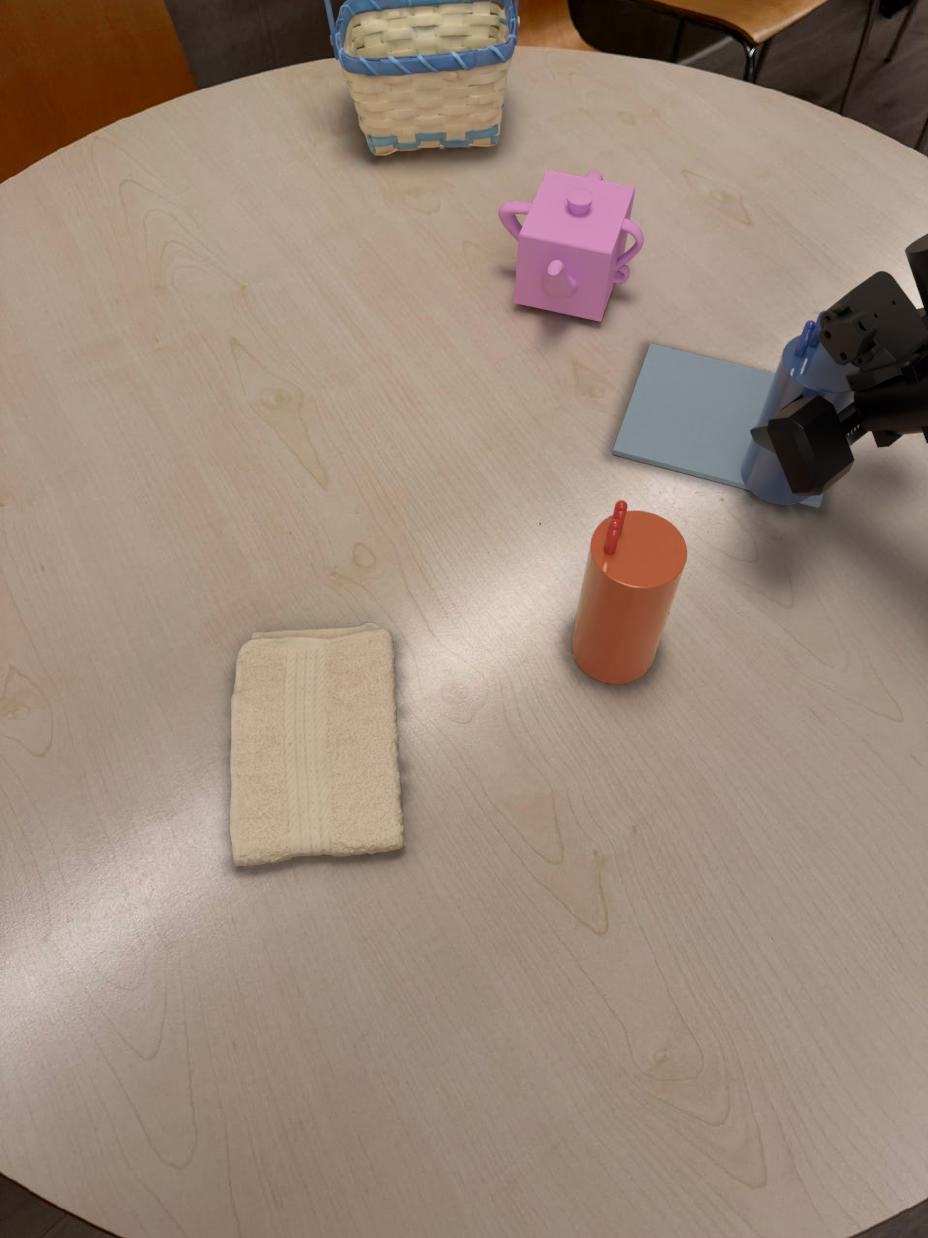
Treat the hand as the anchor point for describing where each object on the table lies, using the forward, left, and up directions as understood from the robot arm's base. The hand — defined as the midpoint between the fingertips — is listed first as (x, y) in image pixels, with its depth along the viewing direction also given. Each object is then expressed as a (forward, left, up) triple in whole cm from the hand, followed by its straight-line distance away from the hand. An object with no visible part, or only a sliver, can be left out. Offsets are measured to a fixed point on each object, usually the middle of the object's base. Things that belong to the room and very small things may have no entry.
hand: (786, 409), depth 82 cm
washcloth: (+26, +37, -7) cm, 46 cm away
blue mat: (+4, -4, -7) cm, 9 cm away
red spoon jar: (+8, +22, -7) cm, 24 cm away
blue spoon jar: (-1, +1, -7) cm, 7 cm away
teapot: (+23, -16, -7) cm, 29 cm away
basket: (+45, -37, -7) cm, 58 cm away
